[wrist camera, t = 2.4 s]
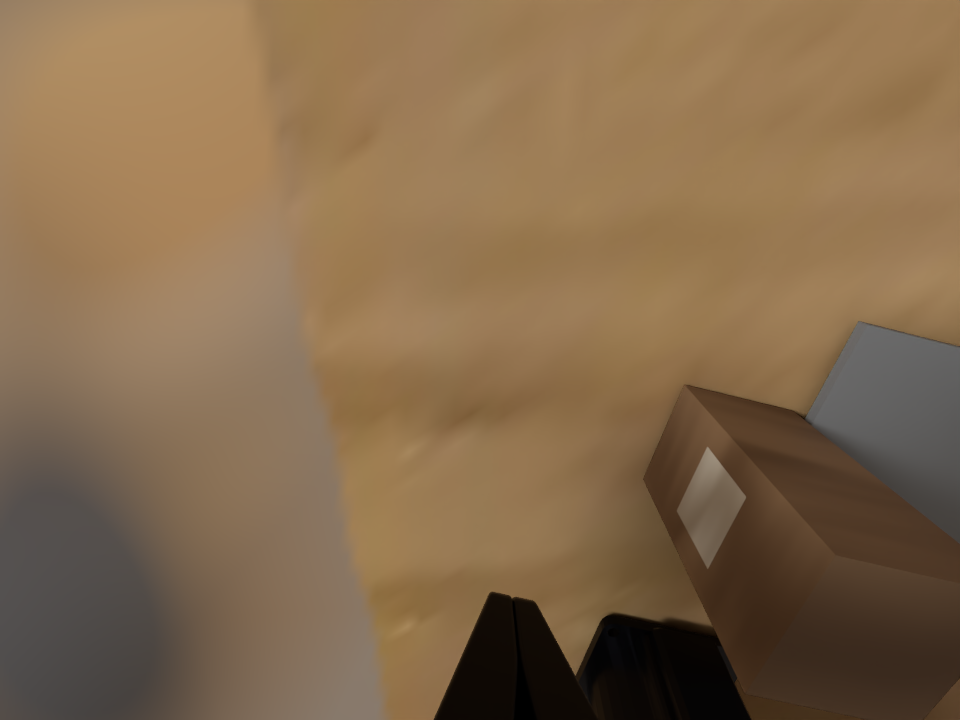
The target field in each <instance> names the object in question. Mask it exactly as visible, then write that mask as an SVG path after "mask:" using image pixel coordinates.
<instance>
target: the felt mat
mask: <svg viewBox="0 0 960 720" xmlns="http://www.w3.org/2000/svg"><path fill="white" fill-rule="evenodd" d="M805 421H806V422H808V423H809V424H810V425H811V426H813V427H814V428H815V429H816V430H818V431H819V432H820V433H821V434H823V435H824V436H825V437H826V438H828V439H829V440H830V441H831V442H833V443H834V444H835V445H836V446H838V447H839V448H840V449H841V450H843V451H844V452H845V453H846V454H848V455H849V456H850V457H851V458H853V459H854V460H855V461H856V462H858V463H859V464H860V465H861V466H863V467H864V468H865V469H866V470H868V471H869V472H870V473H871V474H873V475H874V476H875V477H877V478H878V479H879V480H880V481H882V482H883V483H884V484H885V485H887V486H888V487H889V488H890V489H892V490H893V491H894V492H895V493H897V494H898V495H899V496H900V497H902V498H903V499H904V500H905V501H907V502H908V503H909V504H910V505H912V506H913V507H914V508H915V509H917V510H918V511H919V512H920V513H922V514H923V515H924V516H925V517H927V518H928V519H929V520H930V521H932V522H933V523H934V524H935V525H937V526H938V527H939V528H940V529H942V530H943V531H944V532H945V533H947V534H948V535H949V536H951V537H952V538H953V539H954V540H956V541H957V542H958V543H959V544H960V347H959V346H955V345H951V344H947V343H943V342H939V341H935V340H932V339H928V338H924V337H920V336H916V335H912V334H908V333H904V332H900V331H896V330H892V329H888V328H884V327H880V326H876V325H872V324H868V323H864V322H860V321H858V323H857V325H856V327H855V329H854V331H853V332H852V334H851V336H850V338H849V340H848V341H847V343H846V345H845V347H844V349H843V351H842V352H841V354H840V356H839V358H838V360H837V361H836V363H835V365H834V367H833V369H832V371H831V372H830V374H829V376H828V378H827V380H826V381H825V383H824V385H823V387H822V389H821V391H820V392H819V394H818V396H817V398H816V400H815V401H814V403H813V405H812V407H811V409H810V411H809V412H808V414H807V416H806V418H805Z"/></svg>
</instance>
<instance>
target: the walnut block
mask: <svg viewBox="0 0 960 720" xmlns="http://www.w3.org/2000/svg"><path fill="white" fill-rule="evenodd" d="M643 480H644V482H645V484H646V486H647V488H648V490H649V493H650V495H651V497H652V499H653V501H654V503H655V505H656V507H657V509H658V512H659V514H660V516H661V518H662V520H663V522H664V524H665V526H666V528H667V531H668V533H669V535H670V537H671V539H672V541H673V543H674V545H675V547H676V550H677V552H678V554H679V556H680V558H681V560H682V562H683V564H684V566H685V569H686V571H687V573H688V575H689V577H690V579H691V581H692V583H693V585H694V588H695V590H696V592H697V594H698V596H699V598H700V600H701V602H702V604H703V607H704V609H705V611H706V613H707V615H708V617H709V619H710V621H711V623H712V626H713V628H714V630H715V632H716V634H717V636H718V638H719V640H720V642H721V645H722V647H723V649H724V651H725V653H726V655H727V657H728V659H729V661H730V664H731V666H732V668H733V670H734V672H735V674H736V676H737V678H738V680H739V682H740V685H741V687H742V689H743V691H744V693H745V694H747V695H752V696H757V697H762V698H766V699H771V700H776V701H781V702H785V703H790V704H795V705H800V706H804V707H809V708H814V709H819V710H823V711H828V712H833V713H838V714H843V715H847V716H852V717H857V718H862V719H866V720H923V719H924V718H925V717H926V716H927V715H928V713H929V712H930V711H931V710H932V709H933V708H934V707H935V706H936V704H937V703H938V702H939V701H940V700H941V699H942V698H943V696H944V695H945V694H946V693H947V692H948V691H949V690H950V689H951V687H952V686H953V685H954V684H955V683H956V682H957V681H958V679H959V678H960V544H959V543H958V542H957V541H956V540H954V539H953V538H952V537H951V536H949V535H948V534H947V533H945V532H944V531H943V530H942V529H940V528H939V527H938V526H937V525H935V524H934V523H933V522H932V521H930V520H929V519H928V518H927V517H925V516H924V515H923V514H922V513H920V512H919V511H918V510H917V509H915V508H914V507H913V506H912V505H910V504H909V503H908V502H907V501H905V500H904V499H903V498H902V497H900V496H899V495H898V494H897V493H895V492H894V491H893V490H892V489H890V488H889V487H888V486H887V485H885V484H884V483H883V482H882V481H880V480H879V479H878V478H877V477H875V476H874V475H873V474H871V473H870V472H869V471H868V470H866V469H865V468H864V467H863V466H861V465H860V464H859V463H858V462H856V461H855V460H854V459H853V458H851V457H850V456H849V455H848V454H846V453H845V452H844V451H843V450H841V449H840V448H839V447H838V446H836V445H835V444H834V443H833V442H831V441H830V440H829V439H828V438H826V437H825V436H824V435H823V434H821V433H820V432H819V431H818V430H816V429H815V428H814V427H813V426H811V425H810V424H809V423H808V422H806V421H805V420H804V419H803V418H801V417H800V416H799V415H798V414H796V413H795V412H794V411H791V410H787V409H783V408H779V407H775V406H771V405H766V404H762V403H758V402H754V401H750V400H746V399H742V398H737V397H733V396H729V395H725V394H721V393H717V392H713V391H708V390H704V389H700V388H696V387H692V386H688V385H684V386H683V389H682V391H681V393H680V395H679V398H678V400H677V402H676V405H675V407H674V409H673V412H672V414H671V416H670V418H669V421H668V423H667V425H666V428H665V430H664V432H663V435H662V437H661V439H660V441H659V444H658V446H657V448H656V451H655V453H654V455H653V458H652V460H651V462H650V465H649V467H648V469H647V471H646V474H645V476H644V478H643Z"/></svg>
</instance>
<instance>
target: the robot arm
mask: <svg viewBox="0 0 960 720" xmlns="http://www.w3.org/2000/svg"><path fill="white" fill-rule="evenodd" d="M611 628H613V629H611ZM736 679H737V676H736V674H735V672H734V670H733V668H732V666H731V664H730V661H729V659H728V657H727V655H726V653H725V651H724V649H723V647H722V645H721V642H720V640H719V638H715V637H711V636H706V635H702V634H697V633H692V632H688V631H683V630H678V629H674V628H669V627H665V626H660V625H655V624H651V623H646V622H641V621H637V620H632V619H627V618H623V617H618V616H607V617H605V618H603V619H602V620H601V621H600V623H599V626H598V628H597V630H596V632H595V634H594V637H593V639H592V641H591V643H590V646H589V648H588V650H587V652H586V654H585V657H584V659H583V661H582V663H581V665H580V668H579V670H578V672H577V674H576V676H575V675H574V673H573V671H572V669H571V667H570V665H569V663H568V662H567V660H566V658H565V656H564V654H563V652H562V650H561V649H560V647H559V645H558V643H557V641H556V639H555V637H554V635H553V634H552V632H551V630H550V628H549V626H548V624H547V622H546V621H545V619H544V617H543V615H542V613H541V611H540V609H539V608H538V606H537V604H536V603H535V602H534V601H532V600H528V599H524V598H519V597H514V598H511V597H510V596H509V595H505V594H501V593H496V592H491V593H489V595H488V597H487V600H486V602H485V604H484V606H483V609H482V611H481V613H480V616H479V618H478V620H477V622H476V625H475V627H474V629H473V631H472V634H471V636H470V638H469V640H468V643H467V645H466V647H465V650H464V652H463V654H462V656H461V659H460V661H459V663H458V665H457V668H456V670H455V672H454V675H453V677H452V679H451V681H450V684H449V686H448V688H447V690H446V693H445V695H444V697H443V700H442V702H441V704H440V706H439V709H438V711H437V713H436V715H435V718H434V720H751V718H750V716H749V714H748V711H747V709H746V707H745V705H744V703H743V701H742V699H741V696H740V694H739V692H738V690H737V688H736V686H735V681H736Z"/></svg>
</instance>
